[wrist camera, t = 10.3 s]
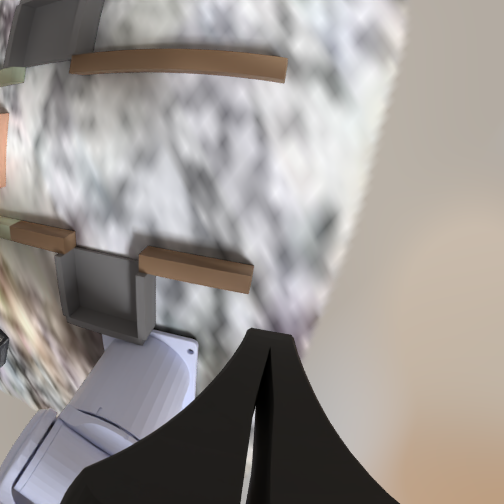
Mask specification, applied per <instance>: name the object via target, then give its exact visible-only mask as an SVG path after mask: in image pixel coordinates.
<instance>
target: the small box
mask: <svg viewBox="0 0 504 504" xmlns="http://www.w3.org/2000/svg"><path fill="white" fill-rule="evenodd" d="M8 344H9V338H8V337H7V336H6V335H5V334H4V333H3V332H2V331H1V330H0V368H1V367H2V366H3V365H4V364H5V362H6V356H7V350H8Z"/></svg>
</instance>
